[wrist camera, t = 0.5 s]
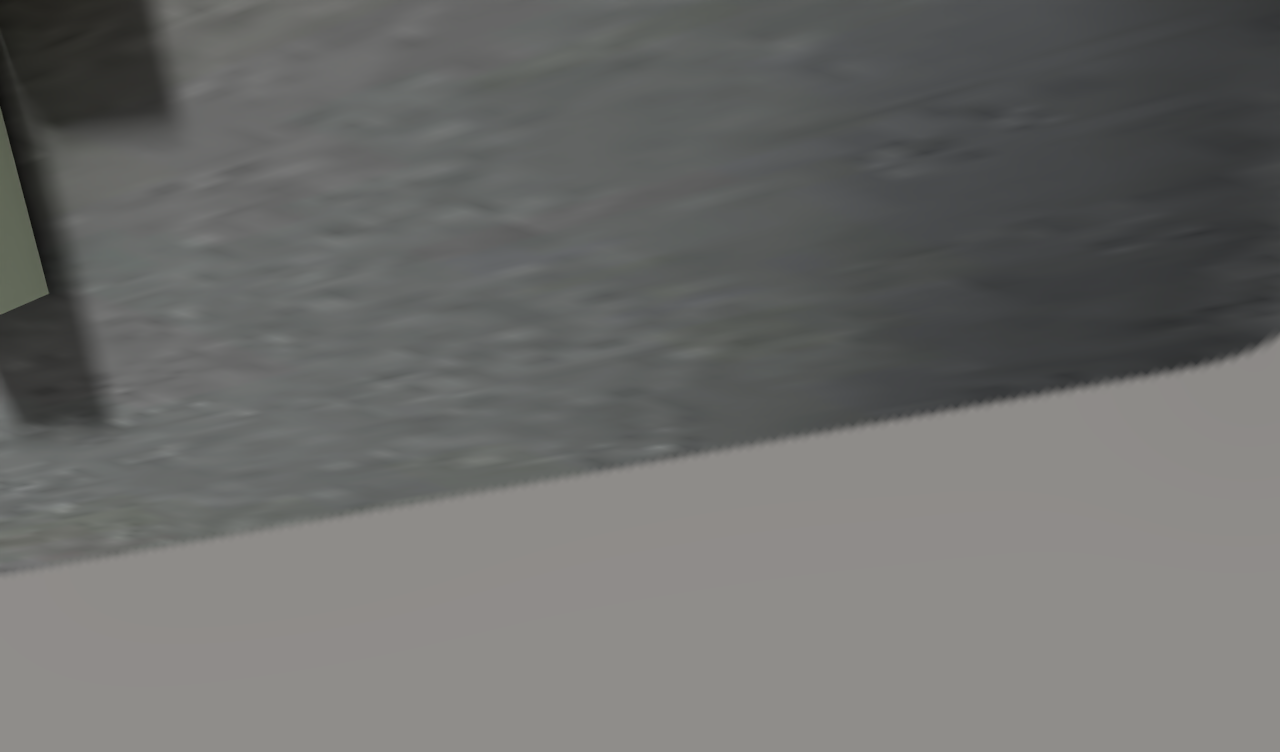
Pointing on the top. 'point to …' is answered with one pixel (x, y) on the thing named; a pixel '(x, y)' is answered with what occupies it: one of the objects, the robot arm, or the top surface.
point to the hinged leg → (16, 238)
